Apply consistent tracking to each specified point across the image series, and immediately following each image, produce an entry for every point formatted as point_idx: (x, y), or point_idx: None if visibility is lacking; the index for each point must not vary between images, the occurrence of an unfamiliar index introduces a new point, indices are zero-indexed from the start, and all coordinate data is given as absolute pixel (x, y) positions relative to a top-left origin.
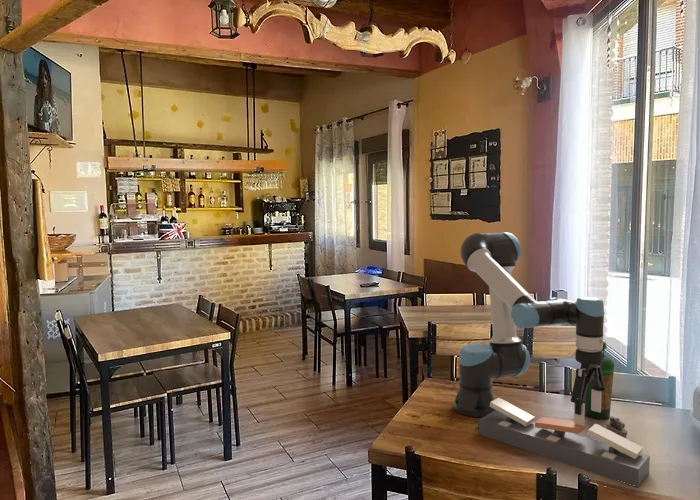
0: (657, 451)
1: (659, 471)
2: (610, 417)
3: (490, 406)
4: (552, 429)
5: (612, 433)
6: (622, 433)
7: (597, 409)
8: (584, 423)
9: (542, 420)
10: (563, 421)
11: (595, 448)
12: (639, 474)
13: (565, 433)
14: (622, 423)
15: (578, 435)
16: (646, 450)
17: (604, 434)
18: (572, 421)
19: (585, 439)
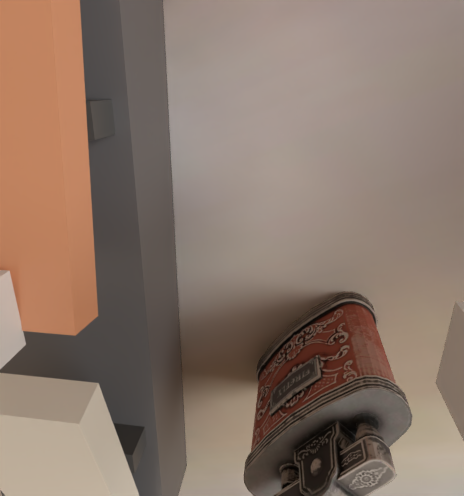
0: (431, 474)
1: (230, 488)
2: (363, 460)
3: None
4: None
5: (90, 489)
6: (248, 481)
7: (451, 377)
8: (70, 332)
9: None
10: (14, 149)
11: (40, 357)
12: None
13: (94, 146)
14: None
15: (133, 232)
16: (413, 440)
17: (13, 467)
18: (53, 229)
19: (109, 285)
